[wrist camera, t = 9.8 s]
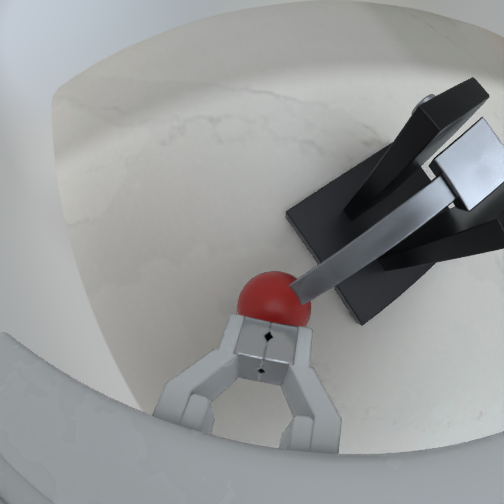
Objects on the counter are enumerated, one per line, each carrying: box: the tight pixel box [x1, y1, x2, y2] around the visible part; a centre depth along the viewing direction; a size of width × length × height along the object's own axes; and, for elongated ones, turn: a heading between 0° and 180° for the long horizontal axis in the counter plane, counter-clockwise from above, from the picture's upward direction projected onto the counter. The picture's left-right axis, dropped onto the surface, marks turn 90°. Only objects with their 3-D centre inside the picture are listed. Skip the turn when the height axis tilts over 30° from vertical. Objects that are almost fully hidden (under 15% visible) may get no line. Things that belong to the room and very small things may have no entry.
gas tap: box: [286, 77, 504, 325], centre depth 12 cm, size 11×9×13 cm
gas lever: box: [237, 117, 504, 327], centre depth 10 cm, size 14×4×4 cm
